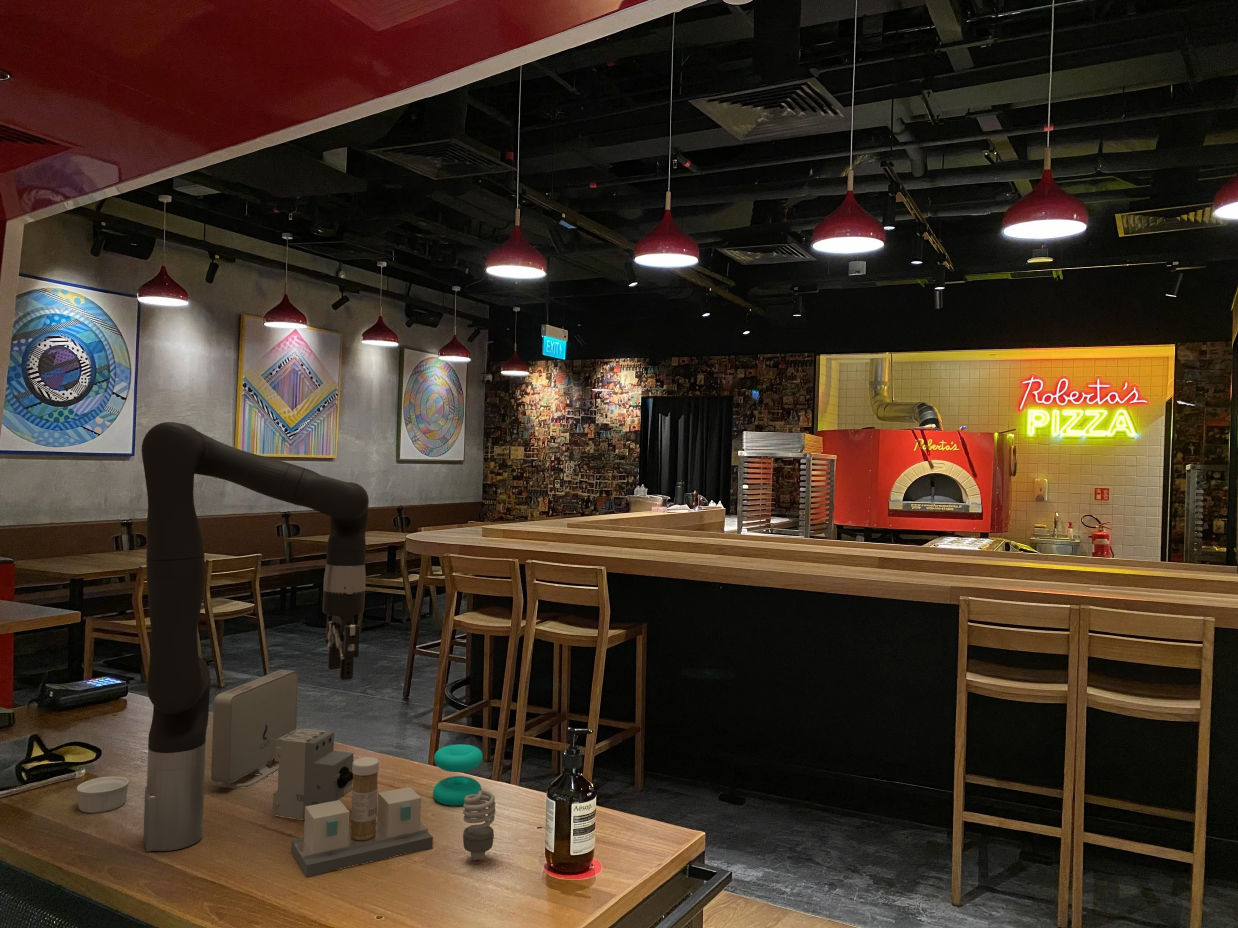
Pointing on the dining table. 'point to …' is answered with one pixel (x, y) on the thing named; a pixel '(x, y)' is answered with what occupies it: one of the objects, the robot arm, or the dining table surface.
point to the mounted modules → (332, 819)
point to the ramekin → (102, 794)
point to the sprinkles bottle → (364, 798)
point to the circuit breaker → (310, 772)
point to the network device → (252, 726)
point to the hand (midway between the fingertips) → (340, 673)
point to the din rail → (355, 842)
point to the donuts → (457, 761)
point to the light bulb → (479, 835)
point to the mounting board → (361, 853)
